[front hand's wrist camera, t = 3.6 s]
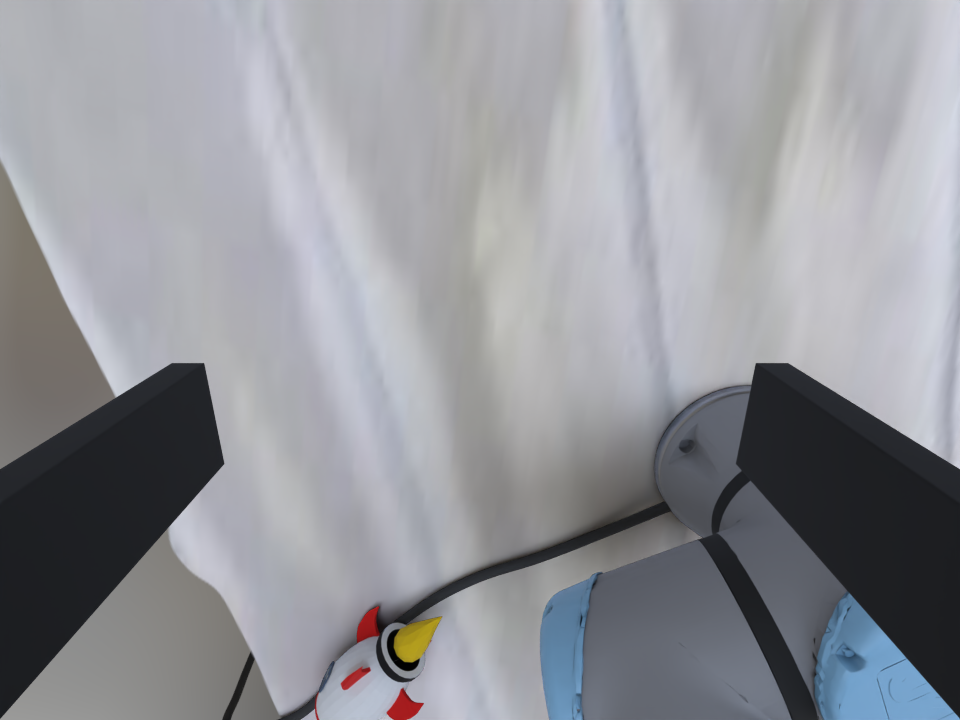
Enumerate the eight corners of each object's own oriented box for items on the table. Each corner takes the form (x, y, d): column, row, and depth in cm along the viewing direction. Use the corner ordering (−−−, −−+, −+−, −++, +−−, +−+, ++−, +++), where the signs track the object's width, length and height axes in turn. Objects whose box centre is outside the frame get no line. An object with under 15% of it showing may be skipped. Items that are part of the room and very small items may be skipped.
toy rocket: (387, 614, 45) (267, 724, 51) (464, 690, 45) (334, 792, 51) (422, 556, 54) (316, 655, 60) (486, 619, 54) (374, 712, 59)
